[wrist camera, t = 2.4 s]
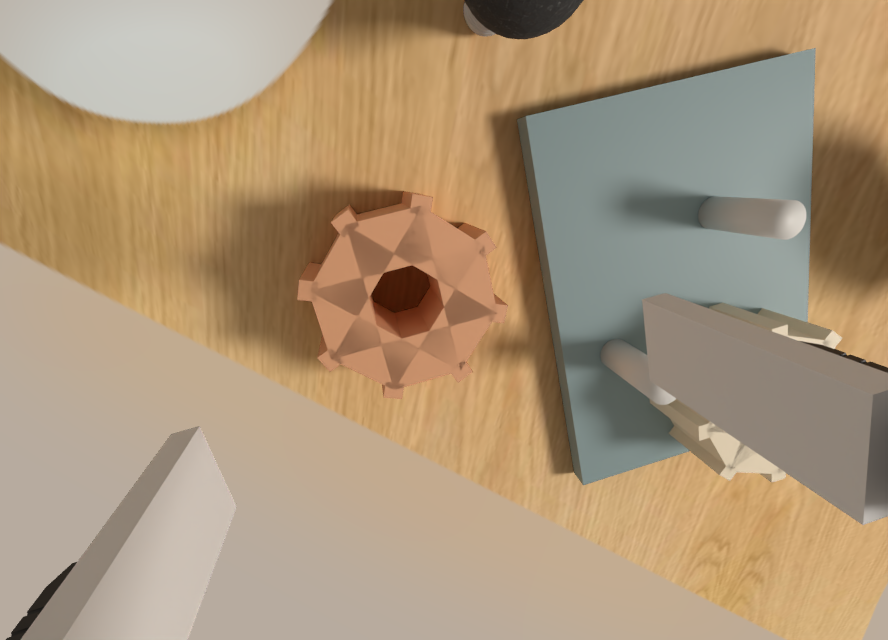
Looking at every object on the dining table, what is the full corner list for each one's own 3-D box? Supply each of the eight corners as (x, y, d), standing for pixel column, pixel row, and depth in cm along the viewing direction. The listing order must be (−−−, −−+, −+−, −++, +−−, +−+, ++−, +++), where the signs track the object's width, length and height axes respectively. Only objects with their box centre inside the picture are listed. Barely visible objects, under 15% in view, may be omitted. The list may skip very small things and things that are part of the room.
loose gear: (287, 219, 26) (272, 228, 22) (461, 176, 27) (483, 176, 23) (340, 379, 30) (337, 417, 25) (494, 336, 31) (519, 364, 26)
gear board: (516, 119, 27) (568, 100, 20) (792, 54, 29) (922, 17, 22) (574, 472, 35) (624, 541, 28) (787, 405, 37) (881, 454, 30)
